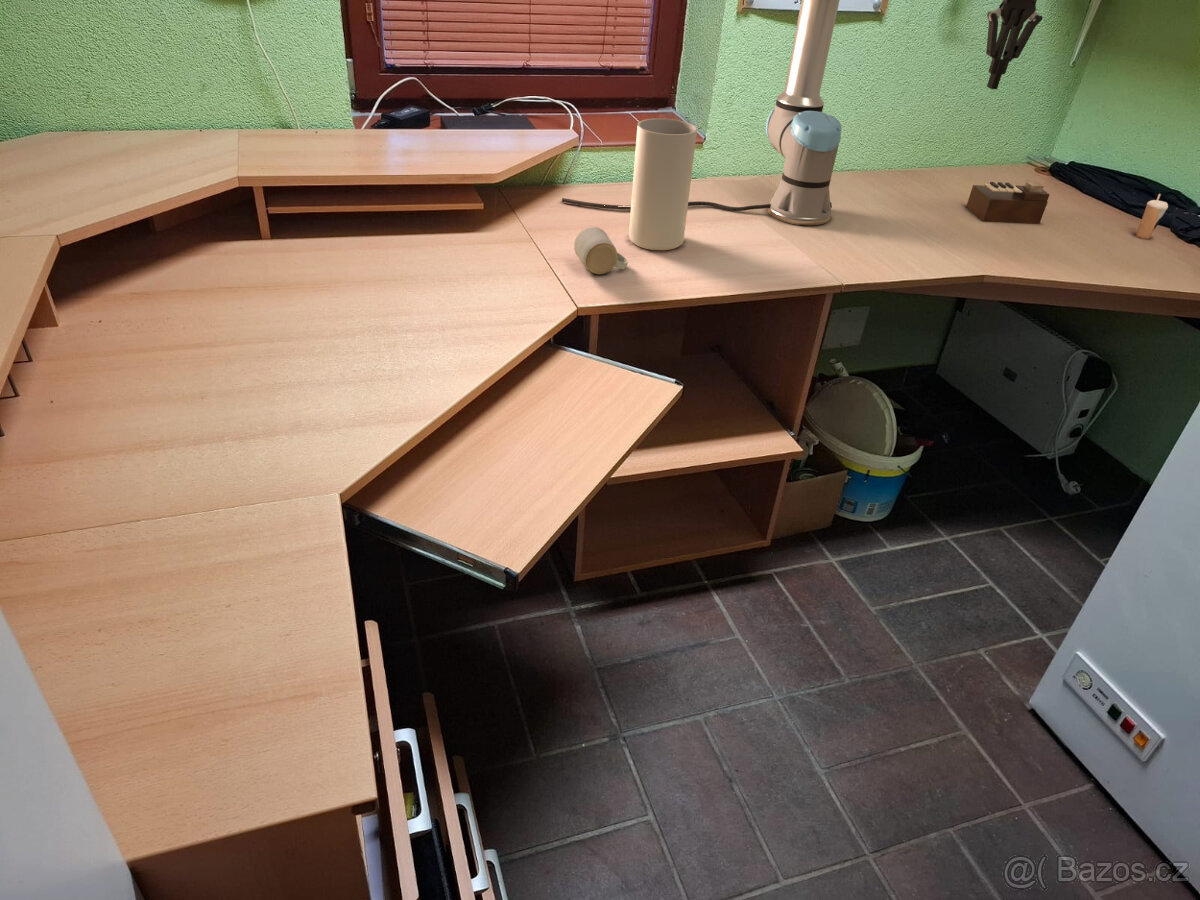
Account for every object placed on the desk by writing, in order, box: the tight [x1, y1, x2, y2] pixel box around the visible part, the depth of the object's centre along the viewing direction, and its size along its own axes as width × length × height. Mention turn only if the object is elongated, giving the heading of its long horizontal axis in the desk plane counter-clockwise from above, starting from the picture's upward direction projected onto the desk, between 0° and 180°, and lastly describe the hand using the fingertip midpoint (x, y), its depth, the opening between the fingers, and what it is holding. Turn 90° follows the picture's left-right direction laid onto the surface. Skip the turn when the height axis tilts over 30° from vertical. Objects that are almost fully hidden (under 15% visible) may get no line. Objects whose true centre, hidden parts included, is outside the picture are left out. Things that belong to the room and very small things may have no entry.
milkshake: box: [1135, 193, 1169, 240], centre depth 203 cm, size 5×5×10 cm
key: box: [1023, 181, 1045, 193], centre depth 206 cm, size 3×3×2 cm
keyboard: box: [983, 181, 1022, 193], centre depth 206 cm, size 8×5×1 cm
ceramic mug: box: [573, 226, 629, 275], centre depth 168 cm, size 11×8×8 cm
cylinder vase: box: [628, 118, 698, 251], centre depth 177 cm, size 12×12×25 cm
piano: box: [965, 184, 1051, 225], centre depth 210 cm, size 15×11×8 cm
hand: (991, 87), depth 204 cm, fingers closed
